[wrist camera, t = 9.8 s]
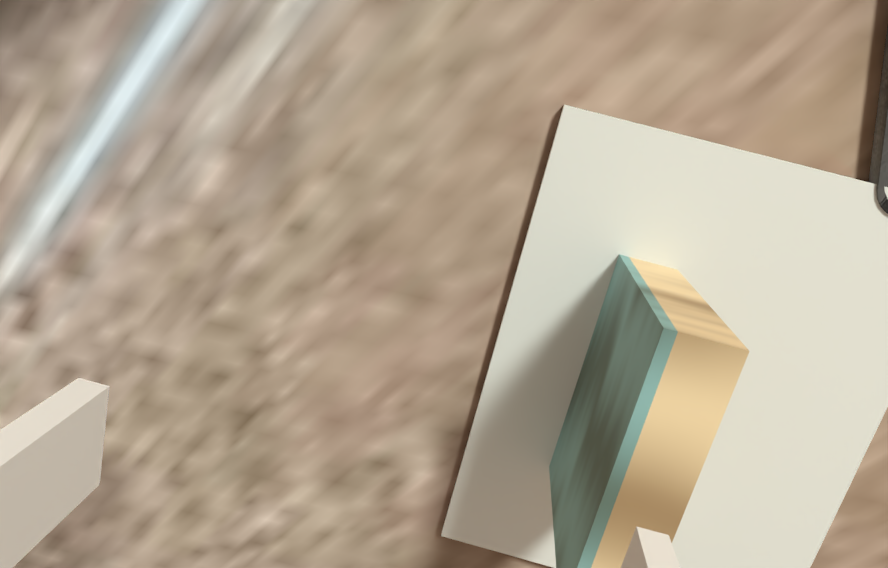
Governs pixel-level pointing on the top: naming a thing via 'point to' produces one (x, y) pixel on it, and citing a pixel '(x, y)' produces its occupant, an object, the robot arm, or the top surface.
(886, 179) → the phone
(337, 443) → the top surface
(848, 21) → the top surface
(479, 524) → the mat
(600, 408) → the tile
